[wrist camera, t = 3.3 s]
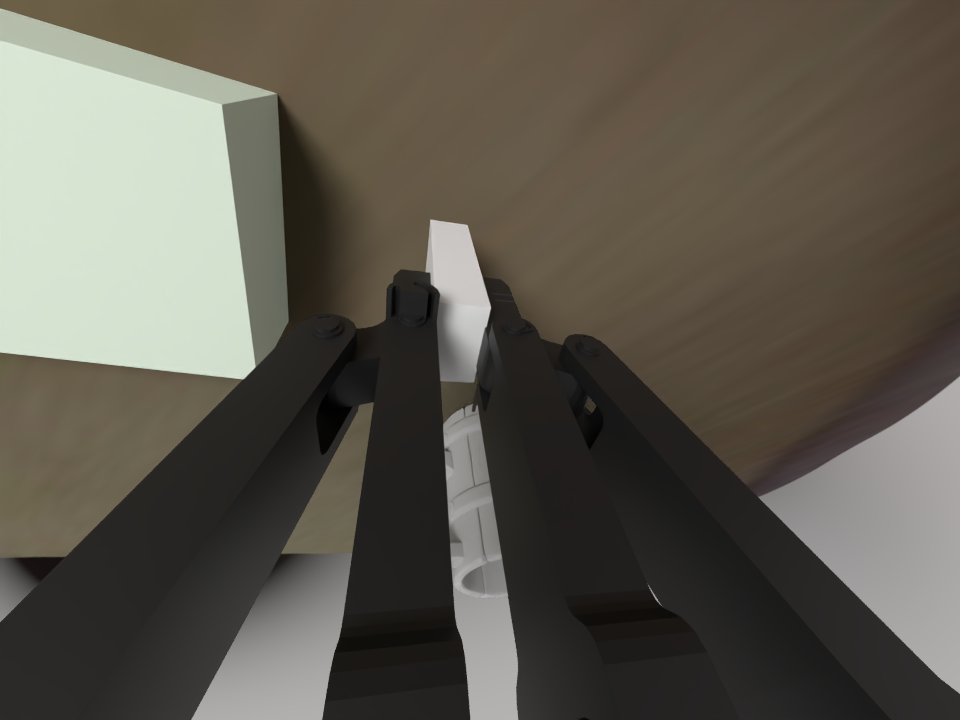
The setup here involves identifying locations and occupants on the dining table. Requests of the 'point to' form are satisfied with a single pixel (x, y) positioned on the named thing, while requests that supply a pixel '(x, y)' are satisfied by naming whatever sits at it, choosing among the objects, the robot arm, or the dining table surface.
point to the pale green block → (136, 208)
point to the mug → (471, 509)
